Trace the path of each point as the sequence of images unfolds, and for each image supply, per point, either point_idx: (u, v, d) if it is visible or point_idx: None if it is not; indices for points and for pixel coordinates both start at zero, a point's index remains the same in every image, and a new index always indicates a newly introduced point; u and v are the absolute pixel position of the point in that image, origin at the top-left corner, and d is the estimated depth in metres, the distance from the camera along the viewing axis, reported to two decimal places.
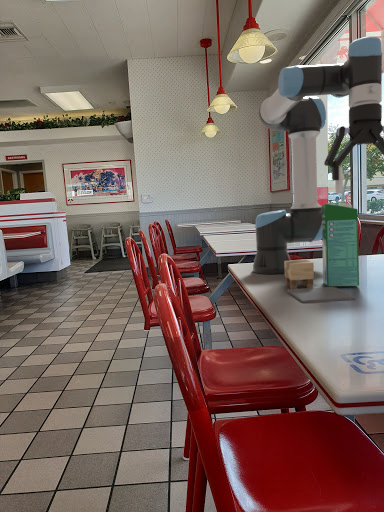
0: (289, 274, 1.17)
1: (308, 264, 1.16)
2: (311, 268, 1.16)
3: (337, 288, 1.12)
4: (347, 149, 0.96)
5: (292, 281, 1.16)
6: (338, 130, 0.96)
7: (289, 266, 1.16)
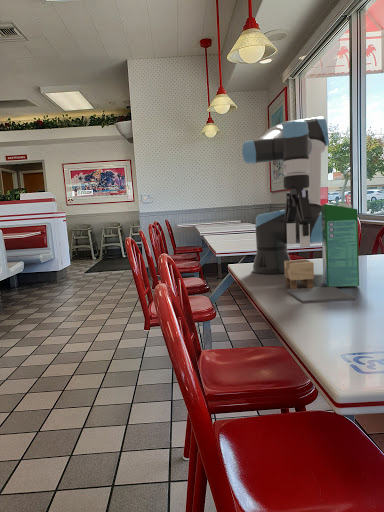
0: (289, 274, 1.17)
1: (308, 264, 1.16)
2: (311, 268, 1.16)
3: (337, 288, 1.12)
4: (288, 210, 1.22)
5: (292, 281, 1.16)
6: None
7: (289, 266, 1.16)
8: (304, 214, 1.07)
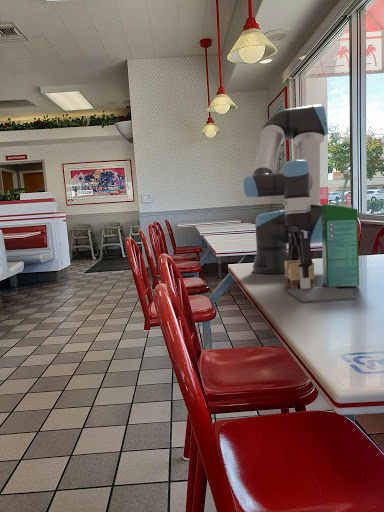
0: (289, 274, 1.17)
1: None
2: (311, 268, 1.15)
3: (337, 288, 1.12)
4: (291, 248, 1.21)
5: (292, 281, 1.16)
6: None
7: (290, 266, 1.16)
8: (304, 257, 1.10)
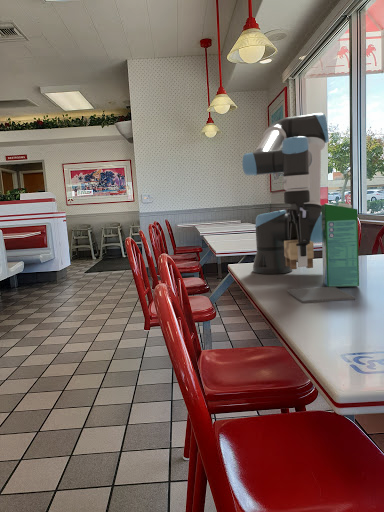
0: (289, 253, 1.17)
1: None
2: (311, 247, 1.15)
3: (337, 288, 1.12)
4: (290, 227, 1.21)
5: (292, 261, 1.16)
6: None
7: (289, 246, 1.16)
8: (302, 236, 1.11)
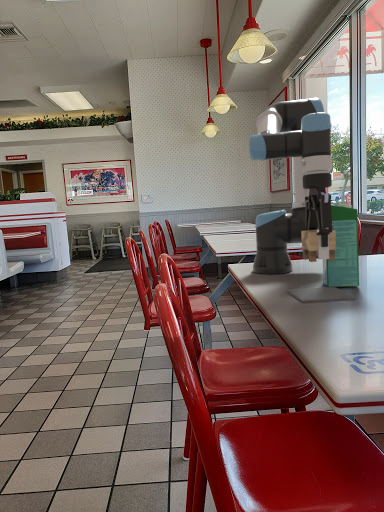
0: (307, 244, 1.04)
1: None
2: (333, 237, 1.02)
3: (337, 288, 1.12)
4: (309, 216, 1.09)
5: (311, 252, 1.03)
6: None
7: (308, 235, 1.03)
8: (324, 224, 0.98)
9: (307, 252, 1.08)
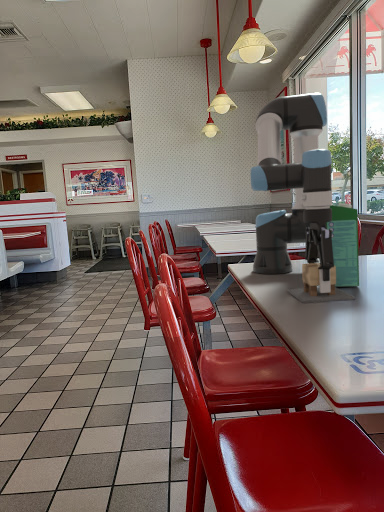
0: (308, 278, 1.06)
1: None
2: (333, 272, 1.04)
3: (337, 288, 1.12)
4: (309, 247, 1.10)
5: (312, 287, 1.04)
6: None
7: (309, 270, 1.04)
8: (325, 259, 0.99)
9: (308, 285, 1.09)
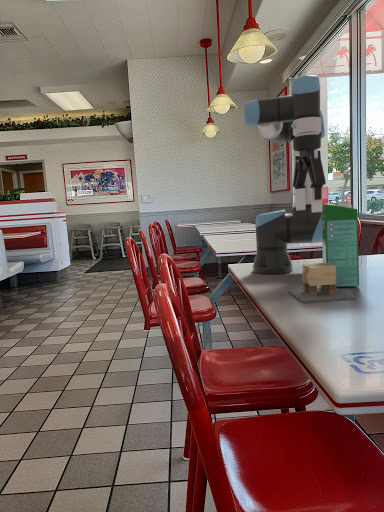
0: (308, 278, 1.06)
1: (330, 268, 1.04)
2: (333, 272, 1.04)
3: (337, 288, 1.12)
4: (297, 174, 1.15)
5: (312, 287, 1.04)
6: None
7: (309, 270, 1.04)
8: (317, 176, 1.00)
9: (308, 285, 1.09)
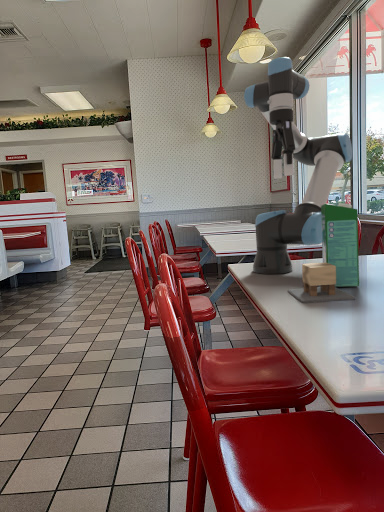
0: (308, 278, 1.06)
1: (330, 268, 1.04)
2: (333, 272, 1.04)
3: (337, 288, 1.12)
4: (274, 146, 1.30)
5: (312, 287, 1.04)
6: None
7: (309, 270, 1.04)
8: (287, 143, 1.16)
9: (308, 285, 1.09)
